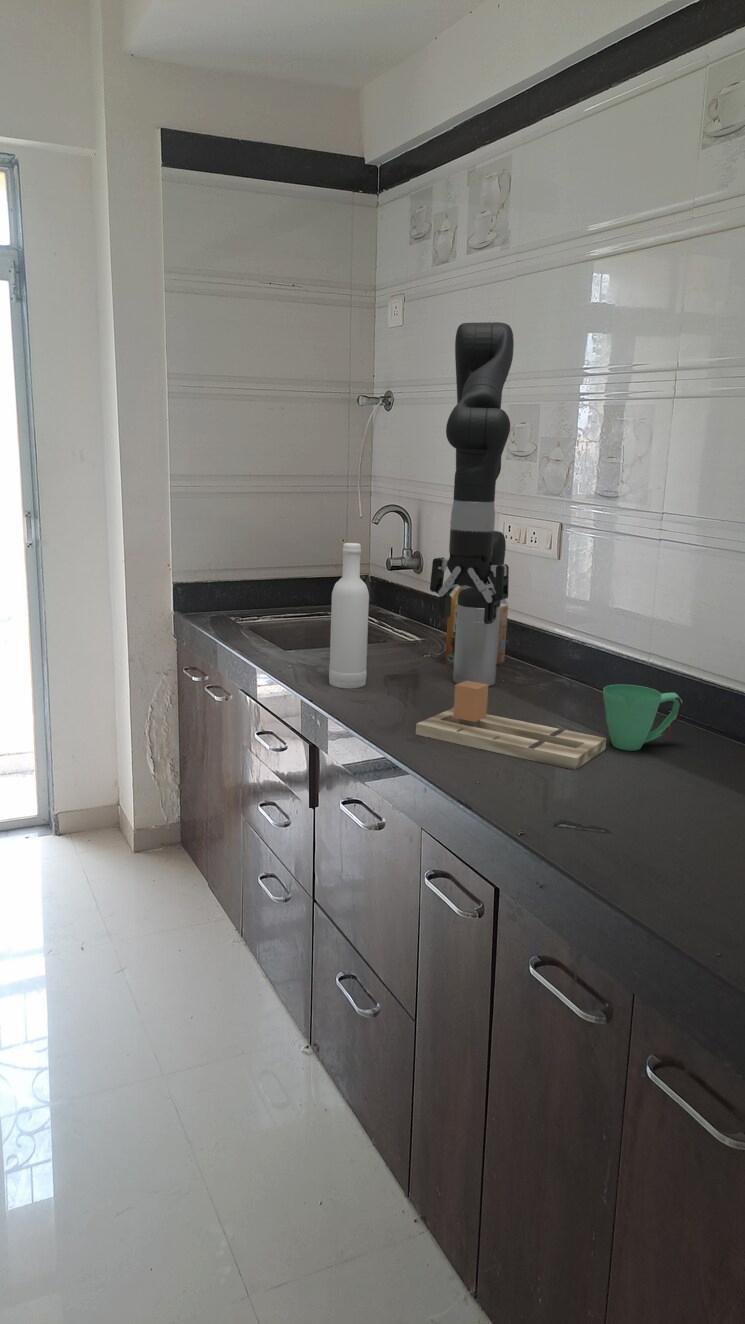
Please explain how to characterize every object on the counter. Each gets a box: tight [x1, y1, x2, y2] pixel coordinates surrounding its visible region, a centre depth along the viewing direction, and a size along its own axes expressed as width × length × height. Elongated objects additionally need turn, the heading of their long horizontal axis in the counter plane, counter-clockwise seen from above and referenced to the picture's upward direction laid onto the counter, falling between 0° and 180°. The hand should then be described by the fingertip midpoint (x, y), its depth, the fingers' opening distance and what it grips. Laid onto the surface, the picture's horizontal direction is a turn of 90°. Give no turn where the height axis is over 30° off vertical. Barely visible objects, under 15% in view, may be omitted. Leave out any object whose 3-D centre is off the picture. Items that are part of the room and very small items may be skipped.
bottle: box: [328, 542, 370, 689], centre depth 200 cm, size 8×8×30 cm
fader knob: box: [453, 681, 489, 728], centre depth 170 cm, size 4×4×9 cm
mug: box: [602, 684, 683, 752], centre depth 167 cm, size 15×10×10 cm
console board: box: [415, 707, 607, 771], centre depth 167 cm, size 14×30×2 cm, turn 57°
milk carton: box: [444, 585, 509, 666], centre depth 227 cm, size 10×11×19 cm
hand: (466, 620), depth 167 cm, fingers open, 8 cm apart
